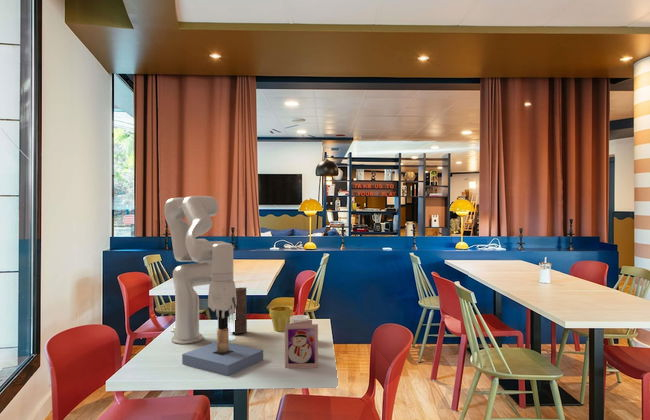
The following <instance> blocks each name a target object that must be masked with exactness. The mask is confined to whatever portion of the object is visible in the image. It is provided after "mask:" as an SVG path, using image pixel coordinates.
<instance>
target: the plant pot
mask: <svg viewBox="0 0 650 420" xmlns="http://www.w3.org/2000/svg"><path fill="white" fill-rule="evenodd" d="M293 313H294V312H293V307H292V306H290V305H277V306H272V307H270V308H269V317H270V318H271V322H272V326H273V327H272V328H273V331H275V332H278V333H279V332H281V333H282V332H285V324H290V317H291V316H293Z"/></svg>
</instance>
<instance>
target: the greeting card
mask: <svg viewBox="0 0 650 420" xmlns="http://www.w3.org/2000/svg"><path fill="white" fill-rule="evenodd" d="M284 368H285V369H292V368H295V369H297V368H299V369H300V368H301V369H302V368H304V369H306V368H308V369H309V368H314V369H315V368H317V369H318V368H319V324H317V323H314V324H313V319H309V320H307V321H301V322H296V323H291V324H285V331H284Z"/></svg>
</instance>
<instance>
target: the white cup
mask: <svg viewBox="0 0 650 420" xmlns="http://www.w3.org/2000/svg"><path fill="white" fill-rule="evenodd" d="M307 320H310V317H309V315H305V314H295V315H292V316H291V317H290V324H291V323H296V322H301V321H307Z"/></svg>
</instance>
